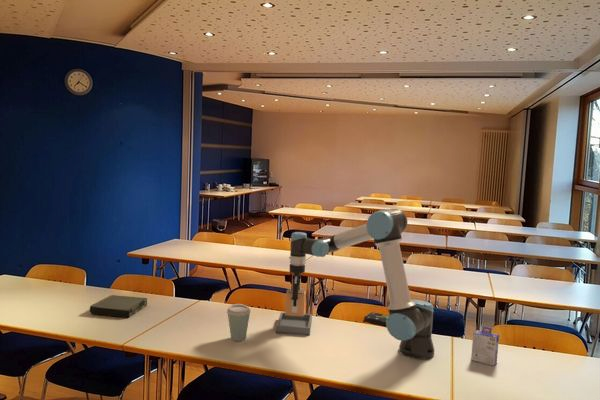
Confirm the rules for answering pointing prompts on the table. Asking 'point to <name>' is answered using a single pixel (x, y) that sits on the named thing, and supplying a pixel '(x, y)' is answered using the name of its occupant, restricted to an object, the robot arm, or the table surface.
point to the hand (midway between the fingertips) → (295, 310)
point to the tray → (294, 324)
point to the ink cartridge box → (485, 346)
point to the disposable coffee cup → (238, 321)
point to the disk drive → (376, 318)
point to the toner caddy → (300, 303)
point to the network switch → (118, 306)
